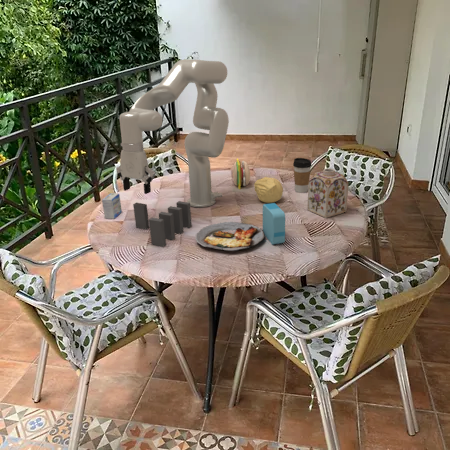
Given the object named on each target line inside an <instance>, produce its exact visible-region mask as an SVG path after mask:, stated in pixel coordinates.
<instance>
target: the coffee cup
mask: <svg viewBox="0 0 450 450" xmlns="http://www.w3.org/2000/svg"><path fill="white" fill-rule="evenodd" d="M292 167H293V177H294V178H293V179H294V191H295V193H299V194H302V193H308V186H309V180H310V178H311V168H312V161H311V159H308V158H304V157H296V158H294V160H293V164H292Z"/></svg>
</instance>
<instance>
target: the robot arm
mask: <svg viewBox="0 0 450 450" xmlns="http://www.w3.org/2000/svg"><path fill="white" fill-rule="evenodd" d="M227 77H228V68H227V66H226V64H225V63H224V62H222V61H217V60H201V59H188V58H187V59H180V60H177V61H176V62H175V63H174V65H173V66H172V68H170V70H169V71H168V72H167V74H166V75H165V76H164V78H162V80H161V81H160V83H159V84H158V85H156V86H154V87H153V88H151V89H150V90H148V91H147V92H145V93H144V94H143V95H141V96H139V98H137V100H136V101H135V103H134V104H133V105H131V108H130V109H129V111H125V112H122V113H121V114H120V115H119V125H120V126H119V127H120V136H121V142H120V147H122V149H121V152H120V156H119V157H120V158H119V159H120V160H119V161H120V164H119V166H118V167H116V168H115V170H116V171H117V173H118V175H117V176H119V177H120V180H121V181H122V184H123V185H122V186H123V191H128V190H130V189H131V181H130V180H131V179H136V180H142V181H143V193H144V195H147V194H149V193H151V192H152V190H151V189H152V188H151V183H152V181H153V180H154V179H155V175H156V171H154V170H153V169H151V168H150V167H149V162H148V157H147V153H146V151H145V149H144V138H143V132H154V131H156V130H159V129H160V128H161V127H162V124H163V117H162V115H161V113H160V112H158V111H157V110H155V109H157V108H158V107H162V106H165V105H169V104H171V103H173V102H175V101H177V100H178V98H179V97H180V95H181V94H182V93H183V92H184V90H185V89H186V87H187V86H188V85H189V84H194V85H195V87H196V90H197V95H196V103H195V107H194V112H193V117H192V123H193V126H195V128H197V129H200V130H204V131H208V132H209V133H207V132H201V131H191V132H190V133H188V134H187V135H186V137H185V138H184V149H185V154H186V158H187V163H188V164H187V165H188V179H189V181H188V183H189V195H190V197H189V198H188V199H187V201H186V202H188V203H190V207H193V208H207V207H210V206H213V205H215V203H216V199H217V198H222V197H223V192H218V191H215V192H213V191H212V173H211V162H210V159H209V158H212V159H216V158H218V157H220V155H221V154H222V152H223V151H224V147H225V142H226V137H227V135H228V129H229V122H230V121H229V120H230V119H229V115H228V112H227V111H226V110H225V109H224V108H221V107H217V104H218V97H219V96H218V90H217V88H216V86H215V85H217V84H218V85H219V84H222V83H224V81H226V79H227Z"/></svg>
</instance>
